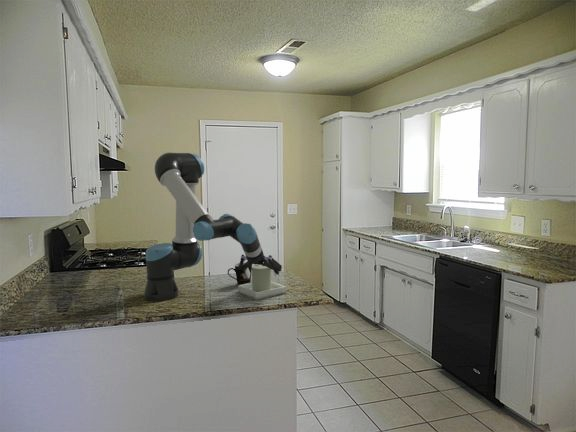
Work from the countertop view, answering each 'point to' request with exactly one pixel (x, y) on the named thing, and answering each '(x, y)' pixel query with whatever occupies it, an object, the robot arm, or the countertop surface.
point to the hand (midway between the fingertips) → (263, 276)
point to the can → (261, 278)
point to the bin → (275, 290)
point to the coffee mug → (241, 275)
